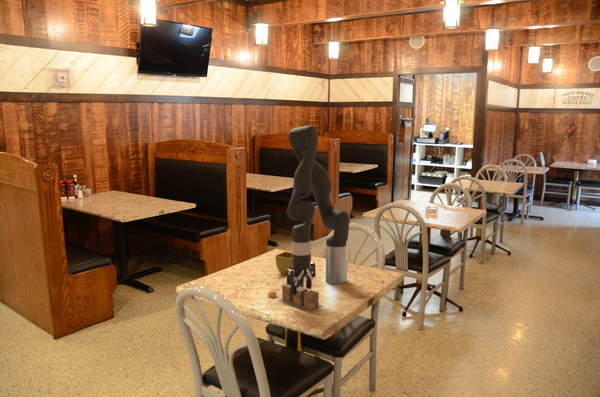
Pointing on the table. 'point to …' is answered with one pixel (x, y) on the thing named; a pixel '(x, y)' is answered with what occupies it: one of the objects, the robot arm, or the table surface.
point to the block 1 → (287, 293)
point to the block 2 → (311, 300)
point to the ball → (272, 294)
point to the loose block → (299, 296)
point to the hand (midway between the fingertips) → (301, 291)
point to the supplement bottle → (301, 282)
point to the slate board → (297, 305)
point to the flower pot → (284, 262)
